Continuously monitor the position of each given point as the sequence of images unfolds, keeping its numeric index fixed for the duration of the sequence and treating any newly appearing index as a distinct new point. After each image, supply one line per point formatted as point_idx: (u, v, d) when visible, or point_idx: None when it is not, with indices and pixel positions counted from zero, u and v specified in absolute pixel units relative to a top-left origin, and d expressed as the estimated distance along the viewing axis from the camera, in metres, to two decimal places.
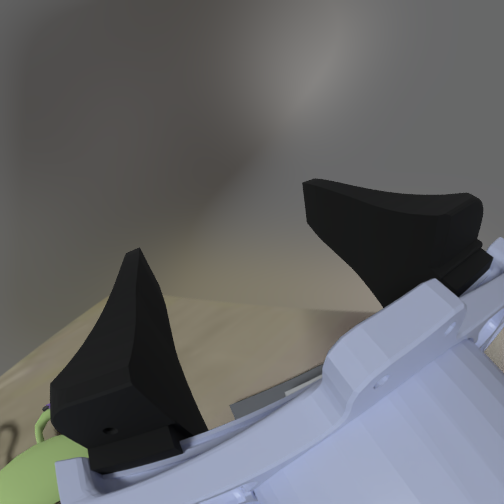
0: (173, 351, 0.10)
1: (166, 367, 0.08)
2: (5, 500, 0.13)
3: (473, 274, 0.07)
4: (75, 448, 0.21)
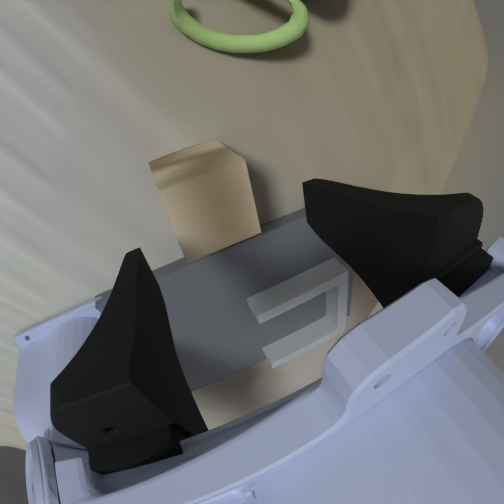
0: (173, 351, 0.10)
1: (166, 367, 0.08)
2: None
3: (473, 274, 0.07)
4: None
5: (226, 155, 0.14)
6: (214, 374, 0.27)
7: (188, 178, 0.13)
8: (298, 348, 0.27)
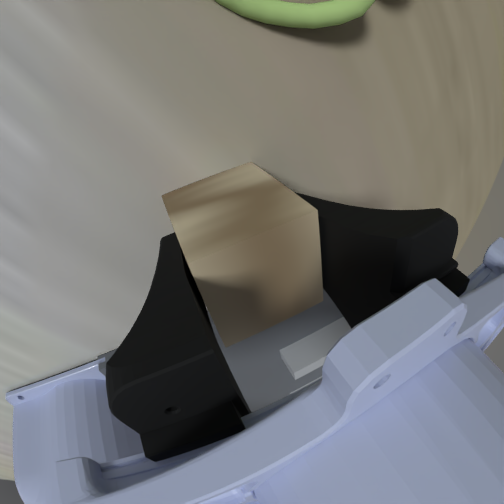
0: (214, 334, 0.10)
1: (217, 346, 0.08)
2: None
3: None
4: None
5: (283, 197, 0.10)
6: None
7: (232, 239, 0.08)
8: None
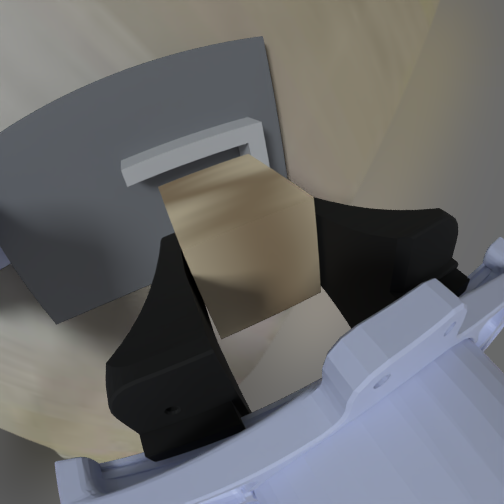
0: (214, 334, 0.10)
1: (217, 346, 0.08)
2: None
3: None
4: None
5: (279, 186, 0.10)
6: (99, 291, 0.19)
7: (228, 226, 0.08)
8: None
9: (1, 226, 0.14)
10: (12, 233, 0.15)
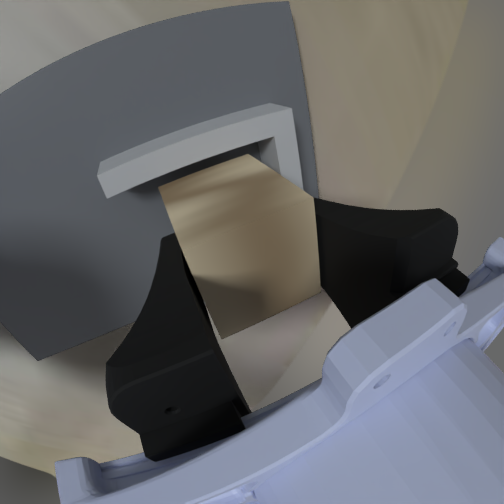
0: (214, 334, 0.10)
1: (217, 346, 0.08)
2: None
3: None
4: None
5: (279, 186, 0.10)
6: (84, 325, 0.15)
7: (228, 226, 0.08)
8: None
9: None
10: None
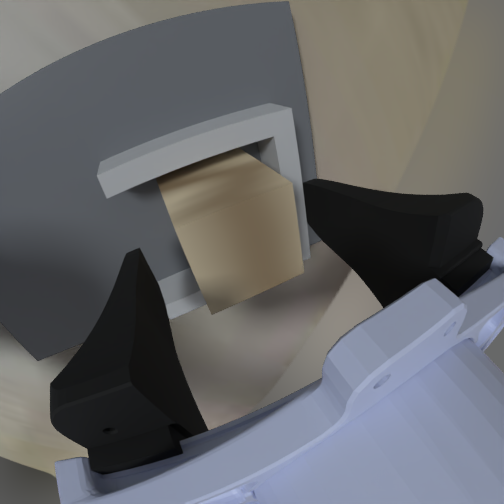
0: (173, 351, 0.10)
1: (166, 367, 0.08)
2: None
3: (473, 274, 0.07)
4: None
5: (263, 174, 0.11)
6: (84, 325, 0.15)
7: (215, 208, 0.09)
8: None
9: None
10: None
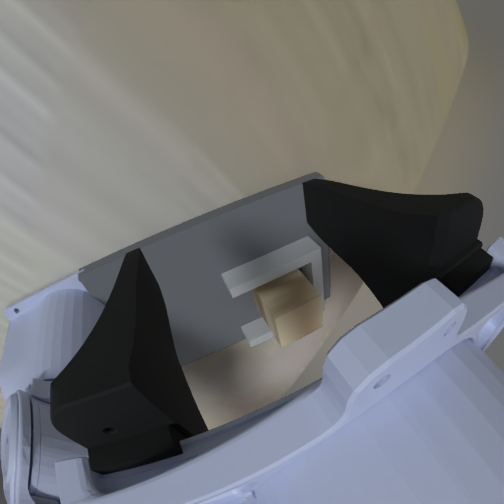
0: (173, 351, 0.10)
1: (166, 367, 0.08)
2: None
3: (473, 274, 0.07)
4: None
5: (307, 287, 0.24)
6: (194, 352, 0.28)
7: (290, 308, 0.22)
8: None
9: None
10: None
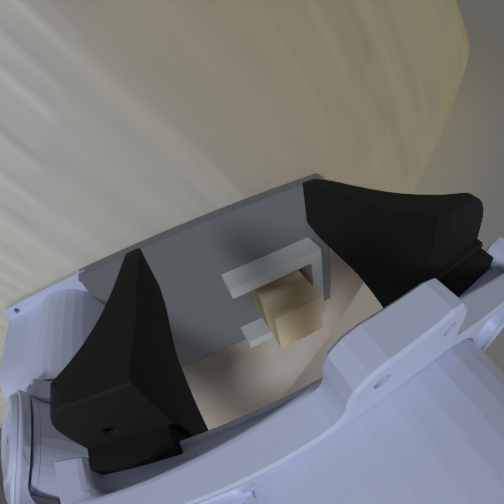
0: (173, 351, 0.10)
1: (166, 367, 0.08)
2: None
3: (473, 274, 0.07)
4: None
5: (307, 288, 0.24)
6: (194, 353, 0.28)
7: (290, 309, 0.22)
8: None
9: None
10: None
